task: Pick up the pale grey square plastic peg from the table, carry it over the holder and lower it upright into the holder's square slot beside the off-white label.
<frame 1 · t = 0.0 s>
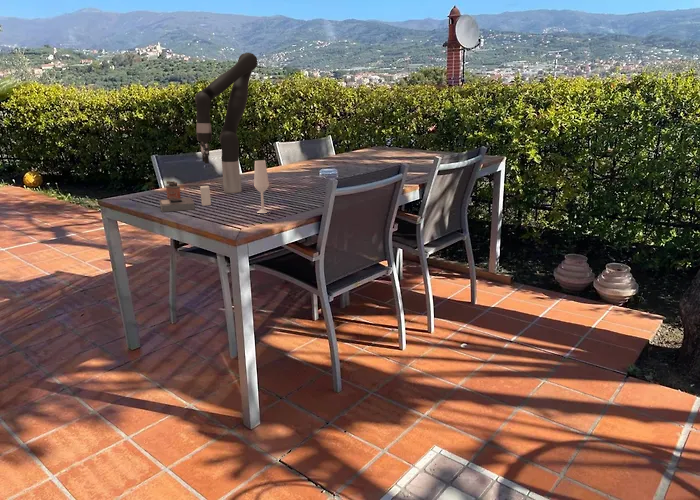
hand: (205, 162, 275), 17 cm above the table, tool pointing down, fingers open, 8 cm apart
champagne flute: (263, 213, 236), on the table
slot holder: (177, 207, 247), on the table
lighter: (174, 200, 264), on the table
peg: (206, 204, 254), on the table
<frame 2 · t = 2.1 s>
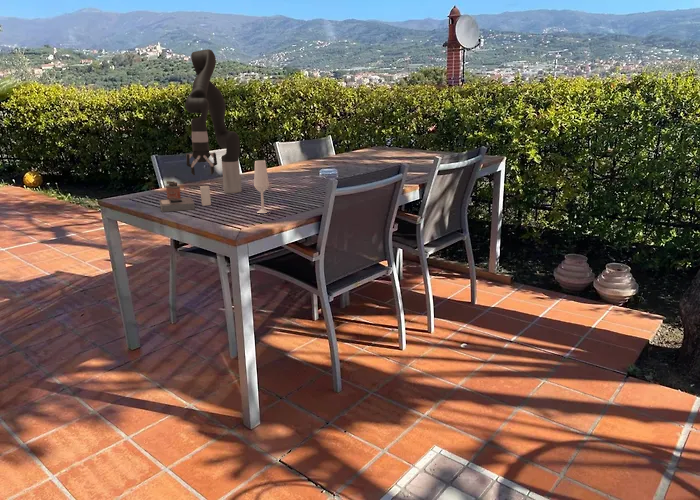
hand: (202, 174, 249), 15 cm above the table, tool pointing down, fingers open, 8 cm apart
nothing on the table moved.
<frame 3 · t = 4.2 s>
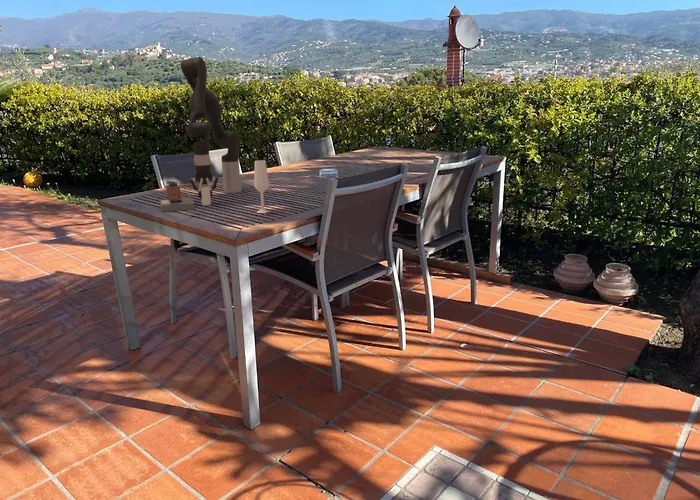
hand: (205, 198, 253), 3 cm above the table, tool pointing down, fingers closed on peg, 4 cm apart
peg: (206, 204, 254), on the table, touching gripper
everything else where it was.
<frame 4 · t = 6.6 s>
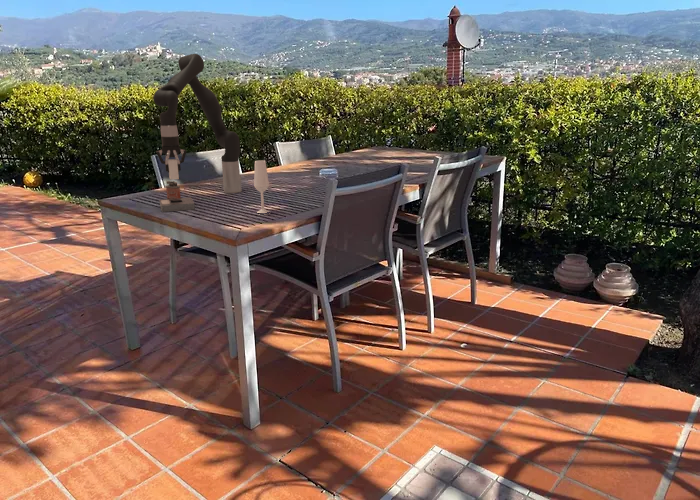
hand: (173, 171, 242), 17 cm above the table, tool pointing down, fingers closed on peg, 4 cm apart
peg: (174, 178, 243), point 14 cm above the table, touching gripper
everything else where it was.
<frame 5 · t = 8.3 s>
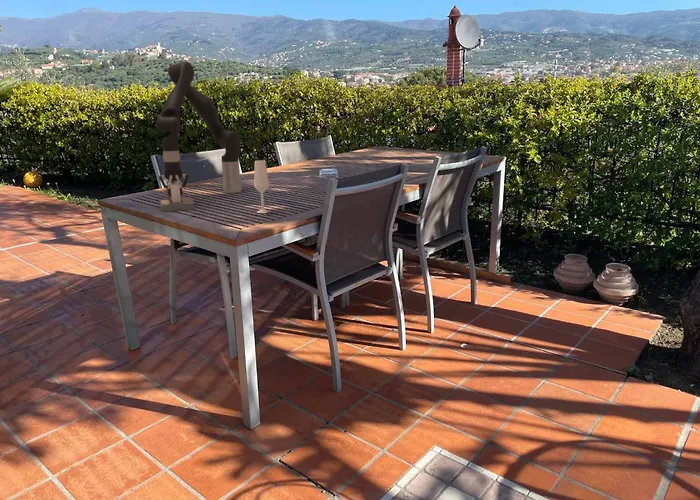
hand: (175, 195, 246), 6 cm above the table, tool pointing down, fingers closed on peg, 4 cm apart
peg: (176, 202, 247), point 3 cm above the table, touching gripper
everything else where it was.
when the fingers open (4 cm above the table, at t = 9.3 s): peg stays where it is, resting in slot holder.
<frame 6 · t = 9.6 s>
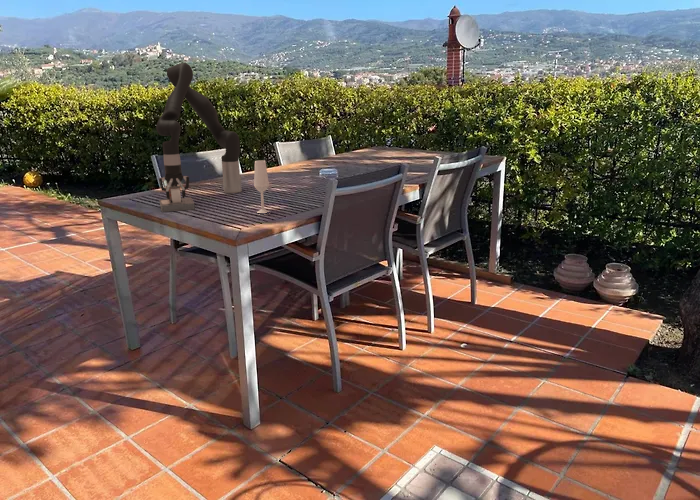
hand: (176, 198, 246), 5 cm above the table, tool pointing down, fingers open, 6 cm apart
peg: (177, 207, 247), resting in slot holder
everything else where it was.
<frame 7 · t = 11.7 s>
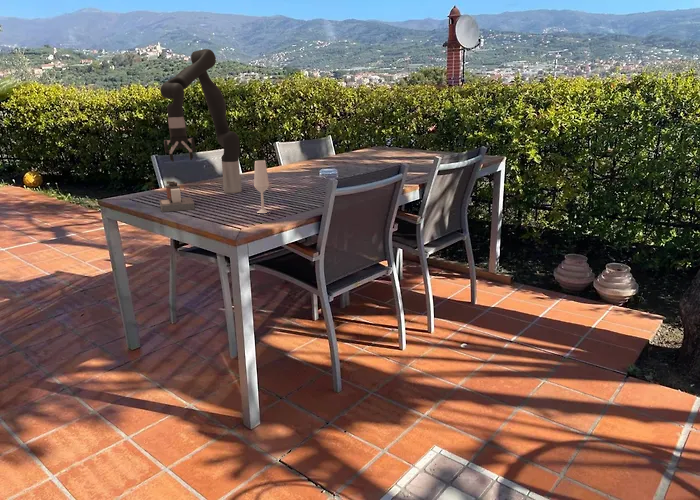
hand: (181, 160, 249), 22 cm above the table, tool pointing down, fingers open, 8 cm apart
nothing on the table moved.
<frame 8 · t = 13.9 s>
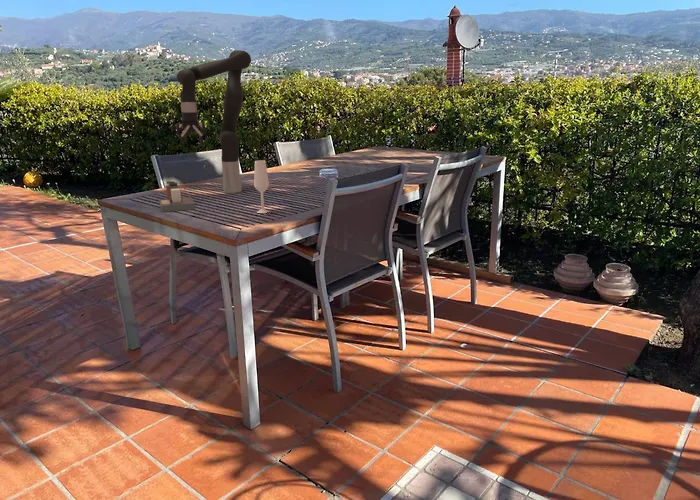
hand: (192, 143, 262), 28 cm above the table, tool pointing down, fingers open, 8 cm apart
nothing on the table moved.
at the end: peg 0.0 cm off-centre on the slot holder, point 0.0 cm above the slot holder's base; peg tilted 0°; the gripper is holding nothing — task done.
